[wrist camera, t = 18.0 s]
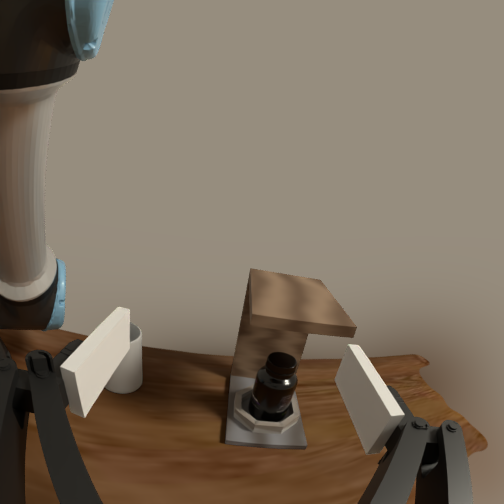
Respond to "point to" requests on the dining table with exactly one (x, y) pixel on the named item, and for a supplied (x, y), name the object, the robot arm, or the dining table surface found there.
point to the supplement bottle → (273, 388)
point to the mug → (128, 366)
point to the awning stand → (277, 349)
